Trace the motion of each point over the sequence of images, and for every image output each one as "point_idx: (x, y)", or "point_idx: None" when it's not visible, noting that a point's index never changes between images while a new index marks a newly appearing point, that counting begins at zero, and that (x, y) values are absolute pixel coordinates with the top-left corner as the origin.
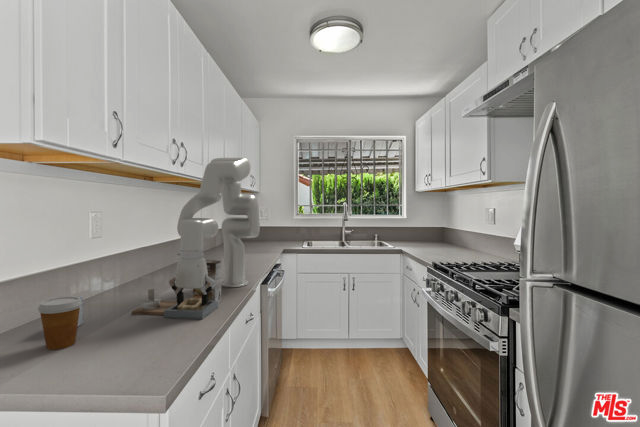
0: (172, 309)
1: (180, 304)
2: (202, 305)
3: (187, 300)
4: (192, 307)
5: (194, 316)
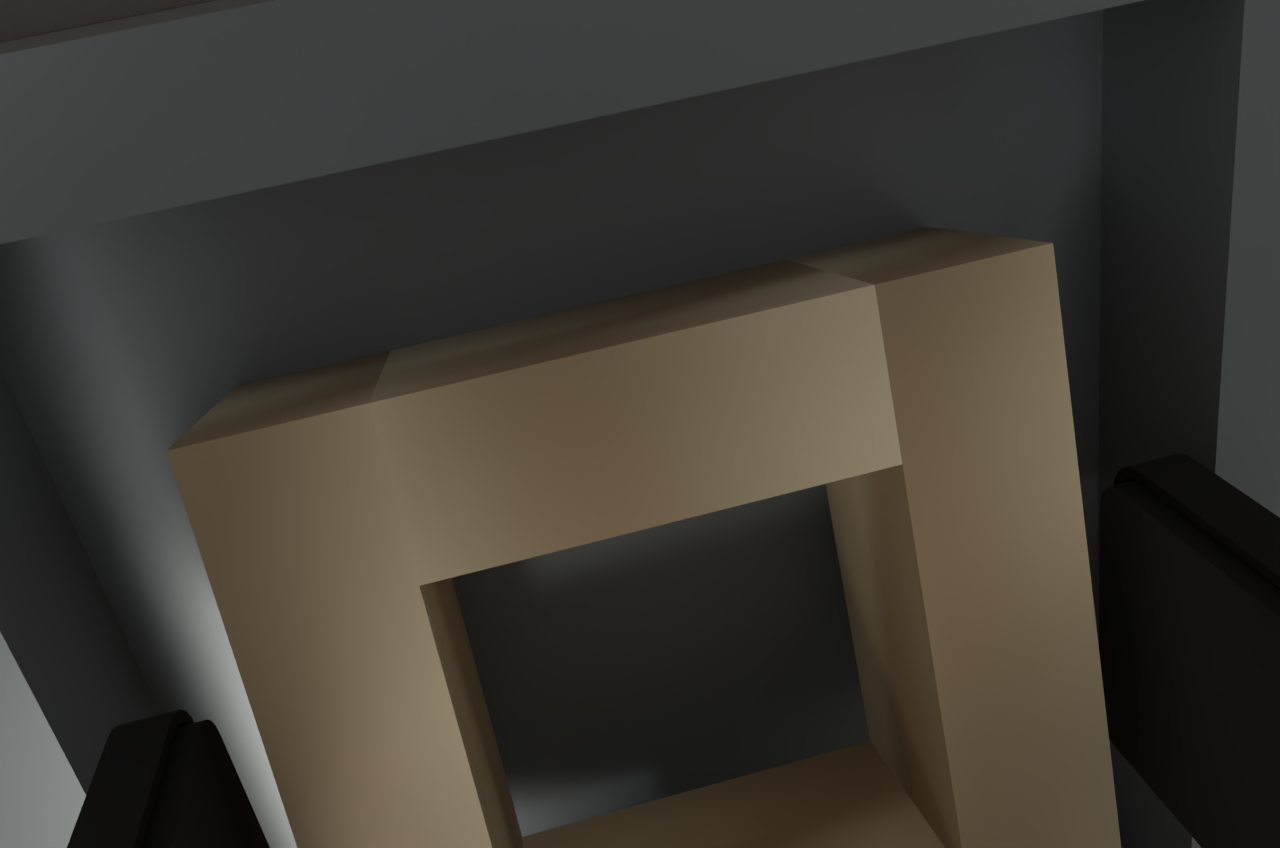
0: (1193, 187)
1: (1059, 456)
2: (156, 718)
3: (985, 801)
4: (398, 398)
5: (49, 34)
